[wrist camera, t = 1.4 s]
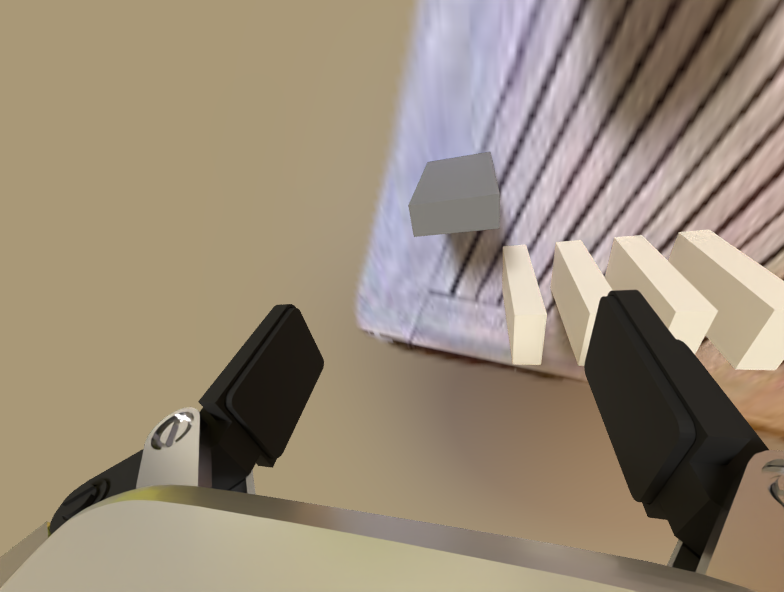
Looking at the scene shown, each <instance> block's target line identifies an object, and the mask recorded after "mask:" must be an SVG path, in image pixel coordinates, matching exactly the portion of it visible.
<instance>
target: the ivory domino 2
mask: <svg viewBox="0 0 784 592" xmlns="http://www.w3.org/2000/svg"><path fill="white" fill-rule="evenodd" d="M550 288H551V291H552V293H553V296H554V299H555V302H556V305H557V307H558V310H559V313H560V316H561V319H562V321H563V324H564V327H565V330H566V333H567V335H568V338H569V341H570V344H571V347H572V349H573V352H574V355H575V358H576V361H577V363H578V366H584V364H585V359H586V355H587V351H588V347H589V343H590V338H591V334H592V330H593V326H594V322H595V318H596V314H597V310H598V305H599V301H600V298H601V297H603V296H607V295H608V293H609V292H610V291H613V290H612V289H611V287H610V285H609V284H608V282H607V281H606V279H605V277H604V276H603V274H602V273H601V271H600V269H599V268H598V266H597V265H596V263H595V261H594V260H593V258H592V257H591V255H590V254H589V252H588V250H587V249H586V247H585V246H584V244H583V242H582V241H581V240H577V241H565V242H556V245H555V254H554V262H553V270H552V279H551V287H550Z"/></svg>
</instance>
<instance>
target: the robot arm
mask: <svg viewBox="0 0 784 592" xmlns="http://www.w3.org/2000/svg"><path fill="white" fill-rule="evenodd" d="M323 366H324V360H323V357H322V355H321V353H320V351H319V349H318V347H317V345H316V343H315V341H314V339H313V337H312V335H311V333H310V331H309V329H308V327H307V324H306V322H305V320H304V318H303V316H302V314H301V312H300V310H299V309H297V308H296V307H295V306H294V305H292V304H286V305H276V306H274V307H273V309H272V310H271V311H270V313H269V314H268V315H267V316H266V317H265V319H264V320H263V321H262V322H261V324H260V325H259V326H258V328H257V329H256V330H255V331H254V332H253V334H252V335H251V336H250V338H249V339H248V340H247V341H246V342H245V344H244V345H243V346H242V347H241V349H240V350H239V351H238V353H237V354H236V355H235V356H234V358H233V359H232V360H231V362H230V363H229V364H228V365H227V366H226V368H225V369H224V370H223V371H222V373H221V374H220V375H219V376H218V378H217V379H216V380H215V381H214V383H213V384H212V385H211V386H210V388H209V389H208V390H207V391H206V393H205V394H204V395H203V397H202V398H201V399H200V400H199V403H200V404H201V405H202V406H203V408H202V410H201V411H200V412H199V411H198V410H197V409H196V408H193V407H186V408H182V409H179V410H177V411H175V412H173V413H171V414H170V415H168V416H166V417H165V418H164V419H163V420H161V421H160V422H159V423H158V424H157V425H156V426H155V427H154V428H153V430H152V431H151V432H150V434H149V436H148V437H147V439H146V442H145V445H144V449H143V450H141V451H139V452H137V453H136V454H134V455H132V456H130V457H129V458H127V459H125V460H123V461H122V462H120V463H118V464H116V465H115V466H113V467H111V468H110V469H108V470H106V471H104V472H103V473H101V474H99V475H97V476H95V477H94V478H92V479H90V480H89V481H87V482H86V483H84V484H83V485H81V486H80V487H79V488H77V489H76V490H74V491H73V492H72V493H71V494H70V495H69V496H68V497H67V498H66V499H65V500H64V502H63V503H62V504H61V506H60V507H59V509H58V510H57V511H56V513H55V514H54V517H53V519H52V521H51V523H49V522H45V523H44V524H43V525H42V526H40V527H39V528H38V529H36V530H35V531H34V532H32V533H31V534H30V535H29V536H27V537H26V538H25V539H23V540H22V541H21V542H20V543H18V544H17V545H16V546H14V547H13V548H12V549H10V550H9V551H8V552H7V553H5V554H4V555H3V556H1V557H0V592H784V451H775V450H769V449H768V448H767V447H766V445H765V444H764V443H763V442H762V440H761V439H760V438H759V436H758V435H757V434H756V432H755V431H754V430H753V429H752V427H751V426H750V425H749V423H748V422H747V421H746V420H745V418H744V417H743V416H742V415H741V413H740V412H739V411H738V409H737V408H736V407H735V406H734V404H733V403H732V402H731V400H730V399H729V398H728V397H727V395H726V394H725V393H724V392H723V390H722V389H721V388H720V386H719V385H718V384H717V383H716V381H715V380H714V379H713V377H712V376H711V375H710V374H709V372H708V371H707V370H706V368H705V367H704V366H703V365H702V363H701V362H700V361H699V360H698V358H697V357H696V356H695V354H694V353H693V352H692V351H691V349H690V348H689V347H688V346H687V345H686V344H685V343H684V342H683V341H681V340H679V339H675V337H674V336H673V335H672V333H671V332H670V331H669V329H668V328H667V327H666V326H665V324H664V323H663V322H662V320H661V319H660V318H659V316H658V315H657V314H656V312H655V311H654V310H653V308H652V307H651V306H650V304H649V303H648V302H647V300H646V299H645V298H644V296H643V295H642V294H641V293H640V292H639V291H638V290H614V291H610V292H609V293H608V295H607V296H603V297H601V298H600V301H599V305H598V310H597V314H596V318H595V322H594V326H593V330H592V334H591V338H590V343H589V347H588V351H587V355H586V359H585V364H584V368H585V374H586V377H587V380H588V382H589V385H590V388H591V390H592V393H593V395H594V398H595V401H596V403H597V406H598V408H599V411H600V414H601V416H602V419H603V422H604V424H605V427H606V430H607V432H608V435H609V438H610V440H611V443H612V445H613V448H614V451H615V453H616V456H617V459H618V461H619V464H620V467H621V469H622V472H623V474H624V477H625V480H626V482H627V484H628V488H629V490H630V493H631V495H632V497H633V498H634V500H636V501H637V502H642V503H643V506H644V508H645V511H646V513H647V516H648V517H650V518H658V519H666V520H668V522H669V524H670V526H671V529H672V531H673V533H674V536H676V537H677V538H678V539H679V540H678V542H677V544H676V547H675V549H674V551H673V553H672V555H671V558H670V560H669V562H668V565H667V566H665V565H661V564H657V563H652V562H648V561H643V560H637V559H632V558H626V557H621V556H616V555H610V554H605V553H600V552H593V551H589V550H583V549H578V548H573V547H567V546H562V545H557V544H551V543H545V542H539V541H533V540H527V539H521V538H515V537H509V536H503V535H497V534H492V533H486V532H480V531H474V530H467V529H462V528H456V527H450V526H444V525H439V524H432V523H426V522H420V521H414V520H408V519H402V518H396V517H390V516H384V515H378V514H372V513H366V512H359V511H354V510H347V509H341V508H335V507H329V506H322V505H317V504H311V503H304V502H298V501H292V500H285V499H279V498H273V497H267V496H260V495H255V487H254V480H253V471H252V469H253V467H254V465H255V463H256V464H257V465H258V466H265V467H273V466H274V464H275V462H276V459H277V458H278V457H280V456H281V455H282V453H283V452H284V450H285V448H286V445H287V443H288V441H289V439H290V437H291V435H292V433H293V431H294V429H295V426H296V424H297V422H298V420H299V418H300V416H301V414H302V411H303V410H304V408H305V405H306V403H307V401H308V399H309V397H310V395H311V393H312V391H313V388H314V386H315V384H316V382H317V380H318V378H319V376H320V373H321V372H322V369H323Z"/></svg>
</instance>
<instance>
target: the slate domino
mask: <svg viewBox="0 0 784 592" xmlns="http://www.w3.org/2000/svg"><path fill="white" fill-rule="evenodd" d="M408 206H409V211H410V217H411V223H412V229H413V234H414V237H418V236H428V235H438V234H448V233H459V232H469V231H479V230H489V229H500V193H499V189H498V184H497V180H496V175H495V171H494V166H493V162H492V157H491V153H490V152H485V153H479V154H473V155H467V156H461V157H455V158H449V159H443V160H437V161H431V162H428V163H427V165H426V167H425V169H424V172H423V174H422V176H421V178H420V181H419V183H418V185H417V187H416V190H415V192H414V194H413V196H412V199H411V201H410V203H409V205H408Z"/></svg>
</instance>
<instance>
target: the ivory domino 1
mask: <svg viewBox="0 0 784 592" xmlns="http://www.w3.org/2000/svg"><path fill="white" fill-rule="evenodd" d="M502 291H503V298H504V305H505V312H506V320H507V327H508V334H509V341H510V349H511V356H512V363H513V364H521V365H541V360H542V352H543V343H544V335H545V326H546V318H547V313H546V310H545V307H544V303H543V300H542V297H541V293H540V290H539V287H538V283H537V280H536V277H535V274H534V270H533V267H532V264H531V260H530V257H529V254H528V250H527V247H526V245H515V246H503V273H502Z"/></svg>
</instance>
